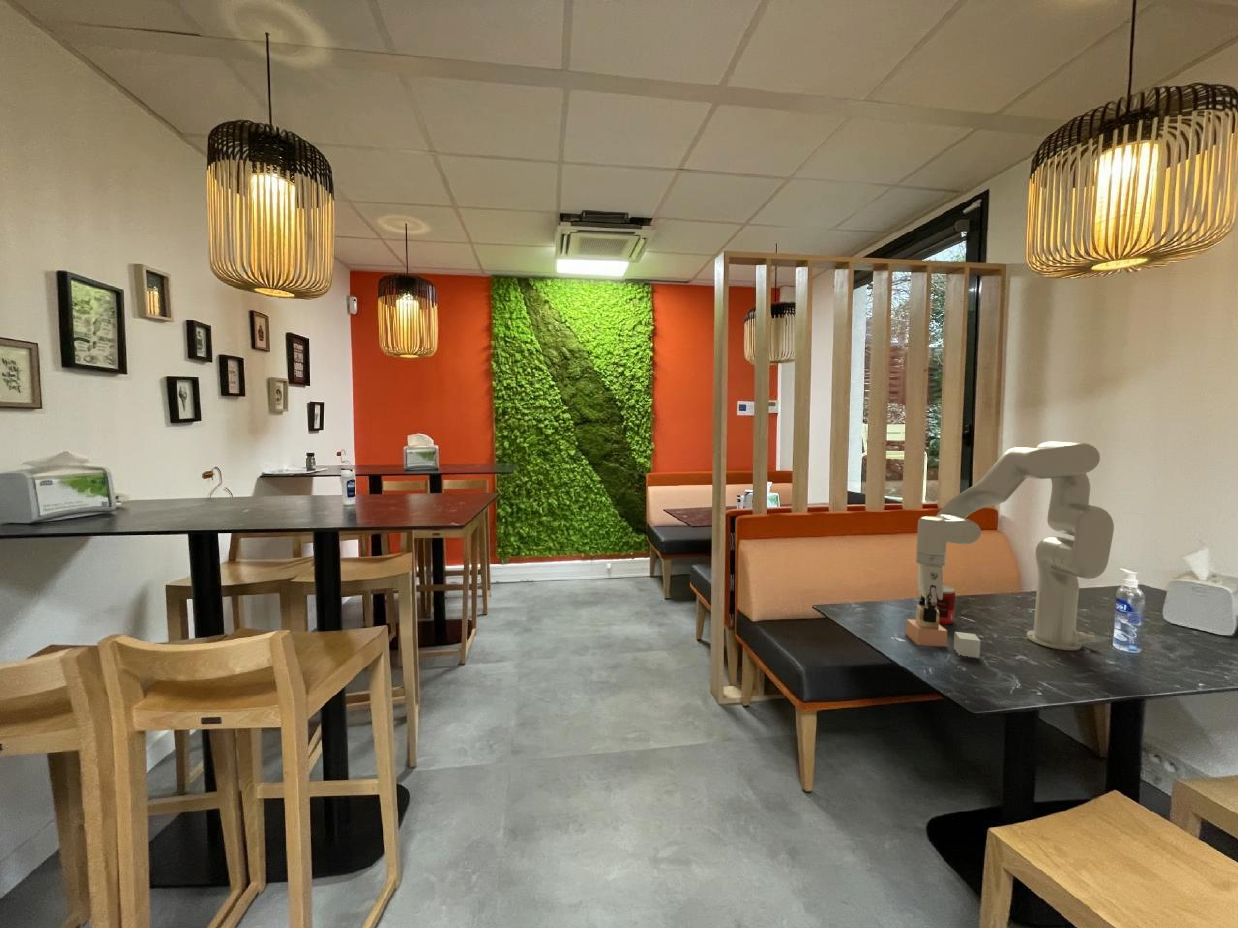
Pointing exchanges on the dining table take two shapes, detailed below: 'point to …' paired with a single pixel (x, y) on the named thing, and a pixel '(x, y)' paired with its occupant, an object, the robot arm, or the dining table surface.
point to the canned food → (946, 605)
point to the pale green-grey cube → (967, 644)
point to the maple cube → (921, 622)
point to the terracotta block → (926, 634)
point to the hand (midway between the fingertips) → (927, 617)
